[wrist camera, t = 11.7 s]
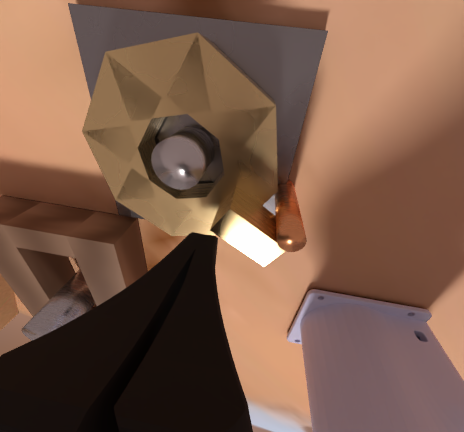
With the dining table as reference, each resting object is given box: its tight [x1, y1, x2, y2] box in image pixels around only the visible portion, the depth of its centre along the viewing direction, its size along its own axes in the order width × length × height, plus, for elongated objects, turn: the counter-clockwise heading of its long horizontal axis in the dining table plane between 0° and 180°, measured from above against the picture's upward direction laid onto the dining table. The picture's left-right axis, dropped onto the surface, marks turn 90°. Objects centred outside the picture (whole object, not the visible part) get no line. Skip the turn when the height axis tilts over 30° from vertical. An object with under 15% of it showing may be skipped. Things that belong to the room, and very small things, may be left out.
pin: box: [22, 269, 95, 340], centre depth 18 cm, size 3×3×6 cm
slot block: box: [0, 196, 147, 317], centre depth 20 cm, size 11×16×3 cm
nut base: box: [68, 3, 328, 252], centre depth 10 cm, size 12×11×5 cm
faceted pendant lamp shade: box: [82, 32, 285, 267], centre depth 10 cm, size 9×10×4 cm
